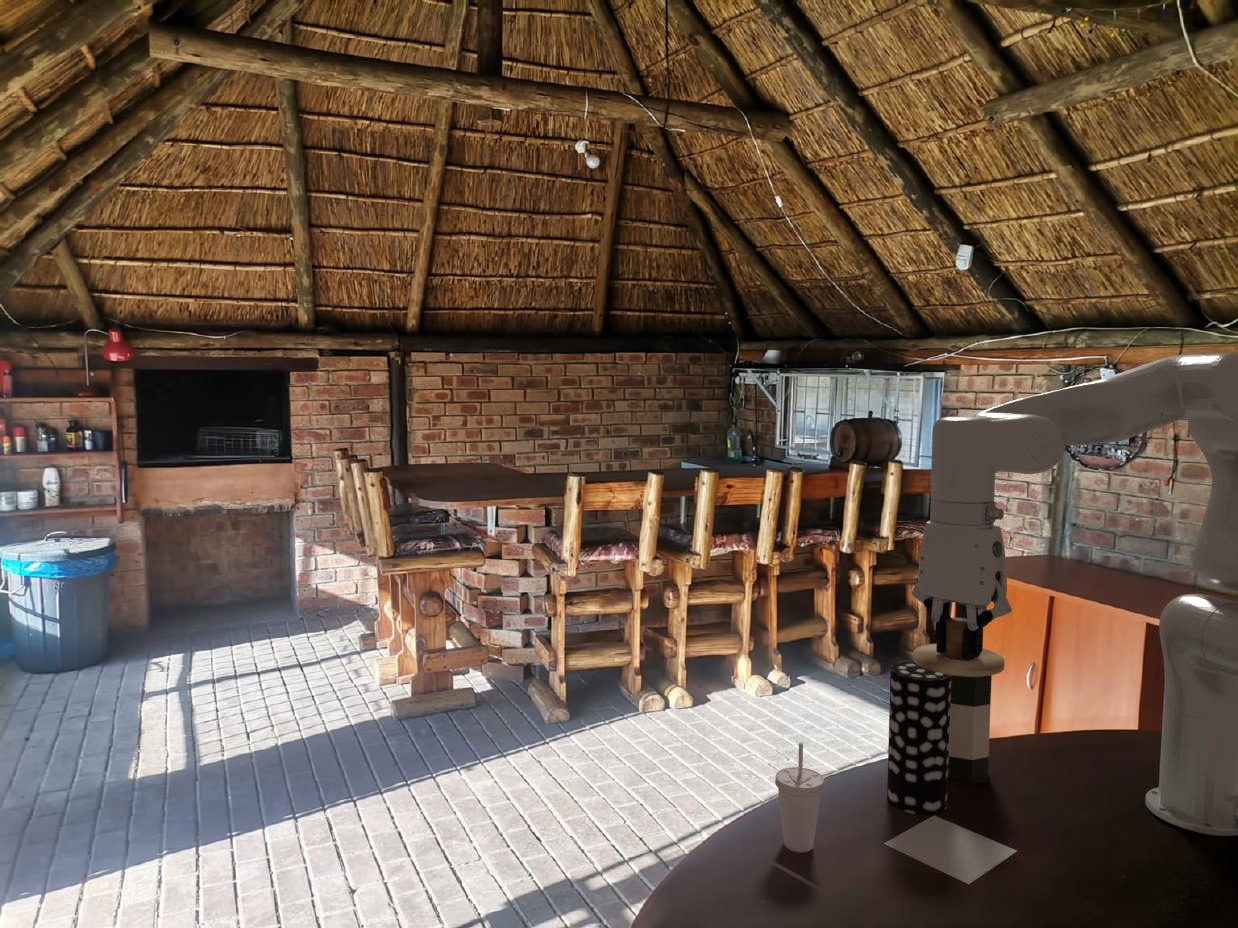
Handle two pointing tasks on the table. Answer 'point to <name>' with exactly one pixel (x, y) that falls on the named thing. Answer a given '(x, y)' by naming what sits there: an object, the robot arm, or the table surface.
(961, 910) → the table surface
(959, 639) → the lid
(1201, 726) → the robot arm
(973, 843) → the mat
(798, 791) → the smoothie
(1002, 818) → the table surface
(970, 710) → the wine bottle
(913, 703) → the spotted tube
